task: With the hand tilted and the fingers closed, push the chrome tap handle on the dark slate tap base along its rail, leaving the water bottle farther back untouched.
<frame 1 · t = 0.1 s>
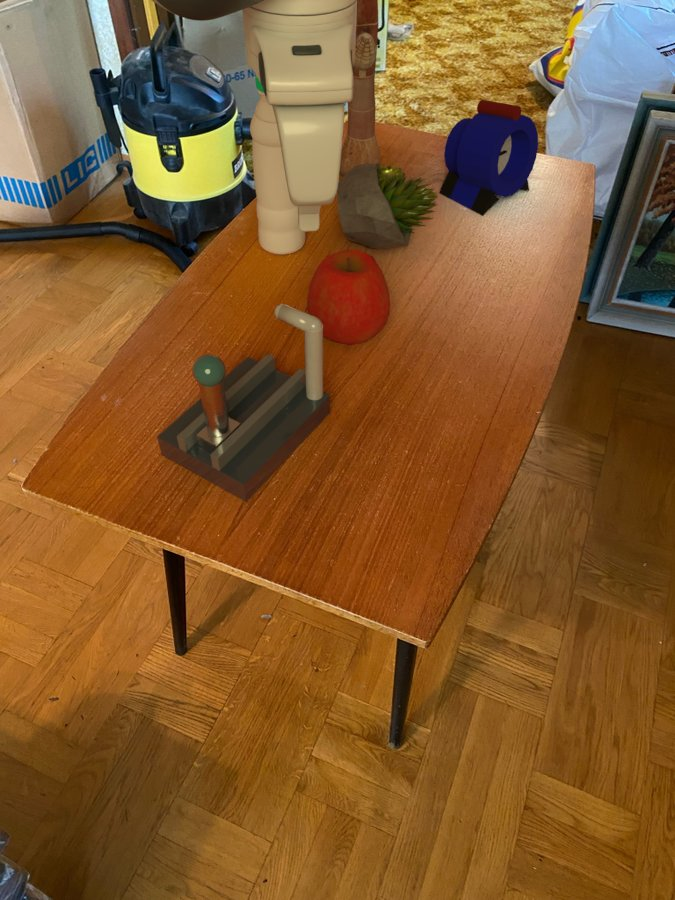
hand: (304, 200, 67), 26 cm above the table, tool pointing down, fingers open, 8 cm apart
tap base: (248, 433, 82), on the table
alarm clock: (481, 191, 120), on the table
water bottle: (282, 244, 108), on the table
apple: (348, 327, 95), on the table
tap handle: (214, 400, 73), point 9 cm above the table, slide at 0.0 cm
brown carved wooden post: (358, 175, 123), on the table
potted plant: (383, 239, 110), on the table
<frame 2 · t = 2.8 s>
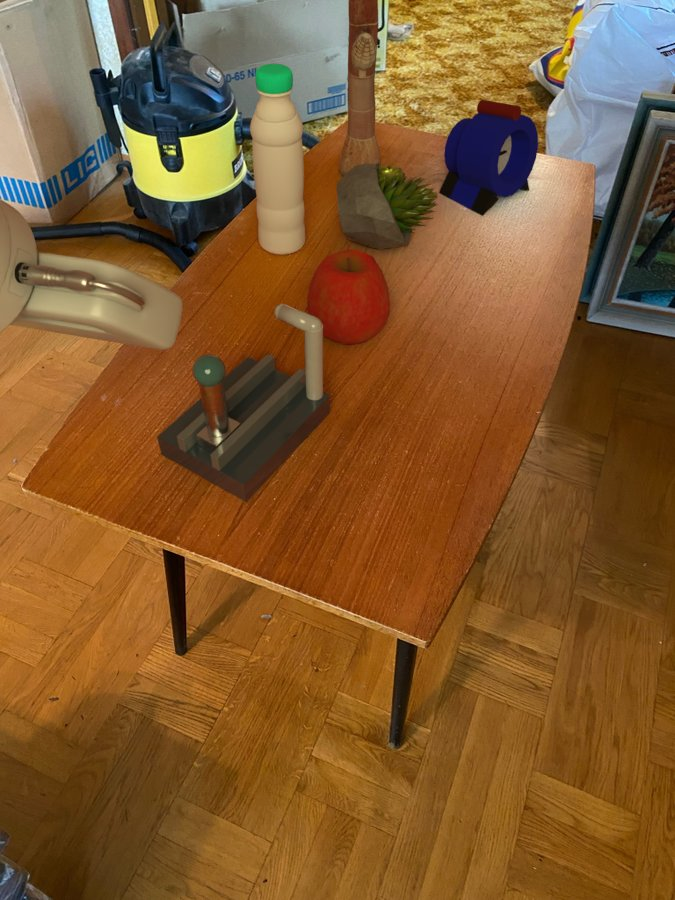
hand: (97, 325, 54), 26 cm above the table, tool tilted 40°, fingers open, 8 cm apart
nothing on the table moved.
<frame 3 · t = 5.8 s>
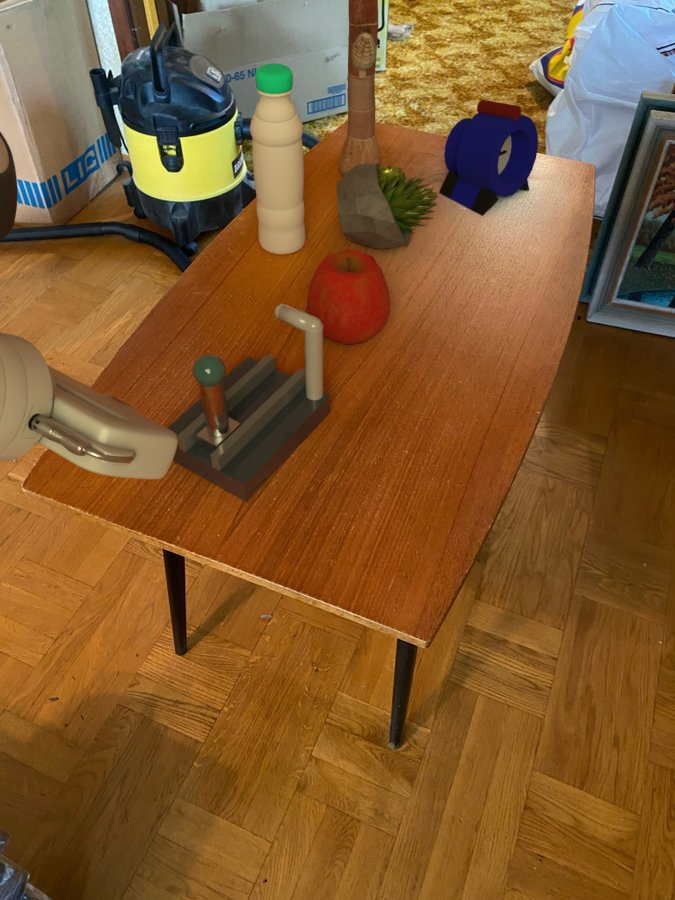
hand: (122, 411, 61), 17 cm above the table, tool tilted 45°, fingers closed
nothing on the table moved.
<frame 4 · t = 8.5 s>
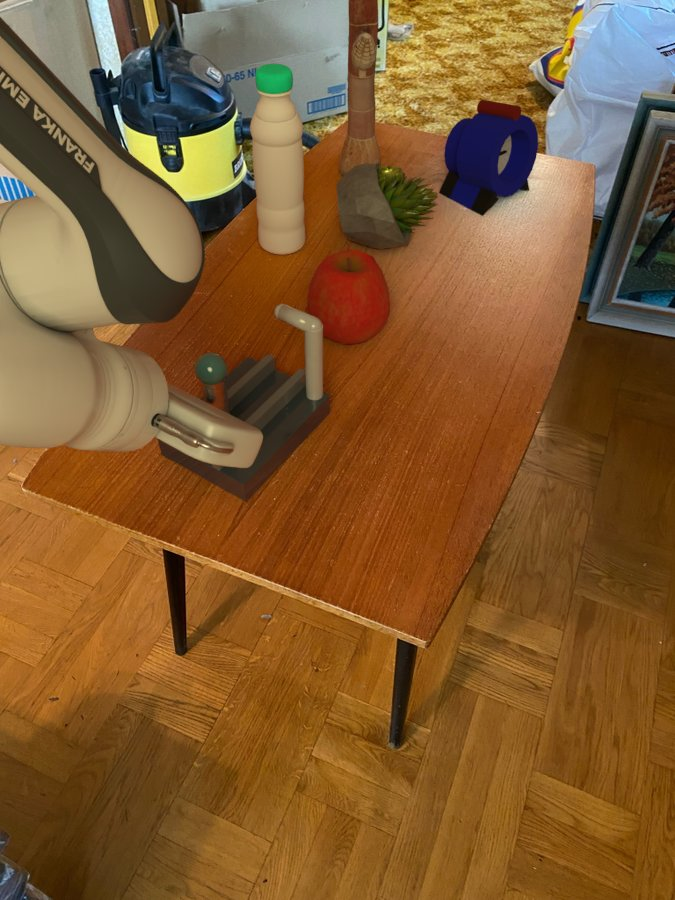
hand: (205, 411, 72), 9 cm above the table, tool tilted 45°, fingers closed
tap handle: (215, 399, 73), point 9 cm above the table, slide at 0.3 cm, touching gripper
everything else where it was.
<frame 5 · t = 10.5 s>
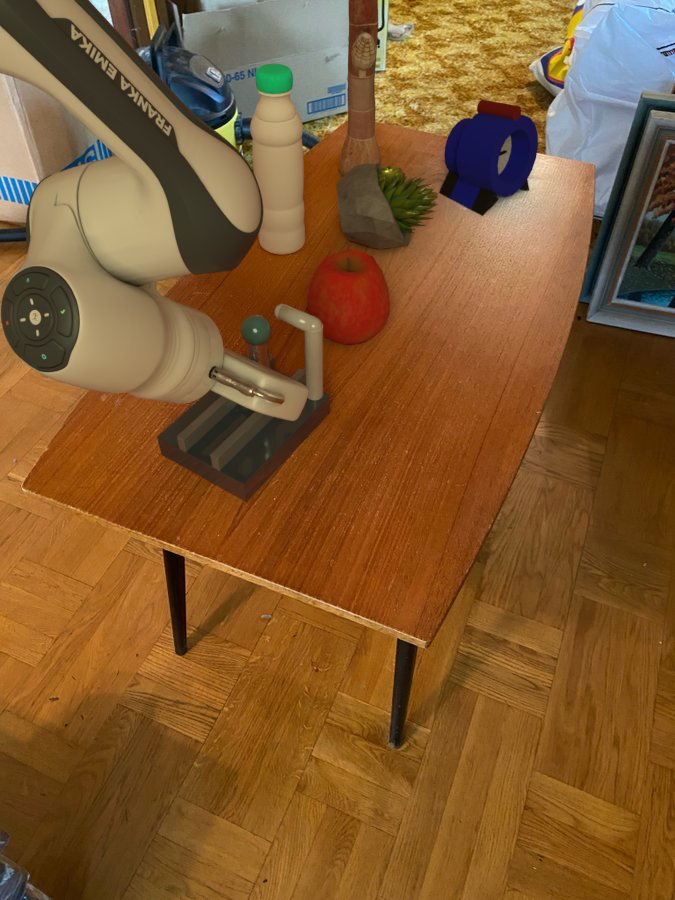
hand: (248, 373, 76), 8 cm above the table, tool tilted 45°, fingers closed, pressing on tap handle
tap handle: (258, 360, 77), point 9 cm above the table, slide at 7.5 cm, touching gripper
everything else where it was.
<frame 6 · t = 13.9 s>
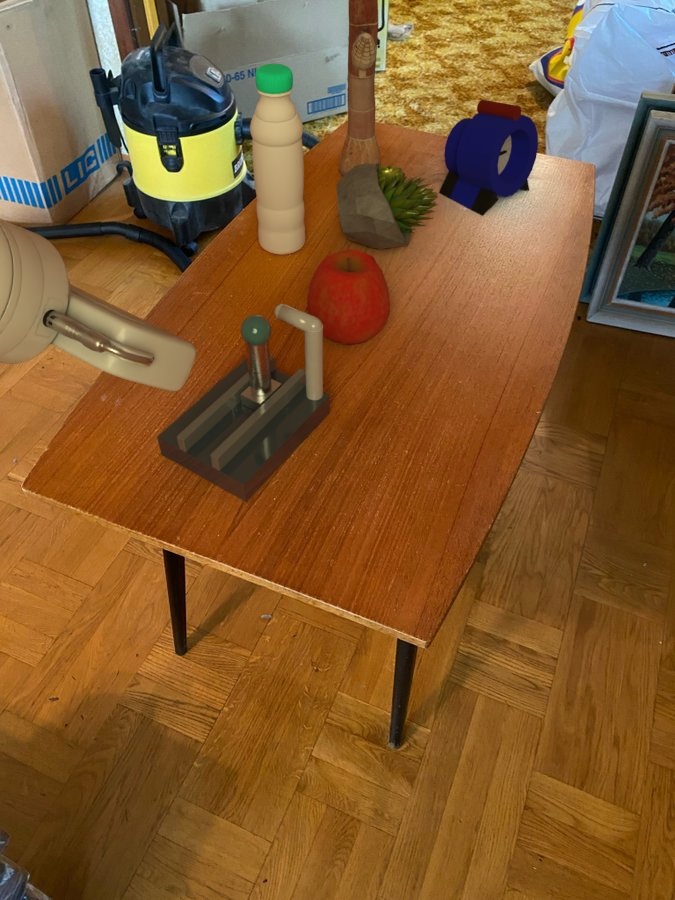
hand: (133, 333, 58), 23 cm above the table, tool tilted 45°, fingers closed
tap handle: (258, 360, 77), point 9 cm above the table, slide at 7.5 cm
everything else where it was.
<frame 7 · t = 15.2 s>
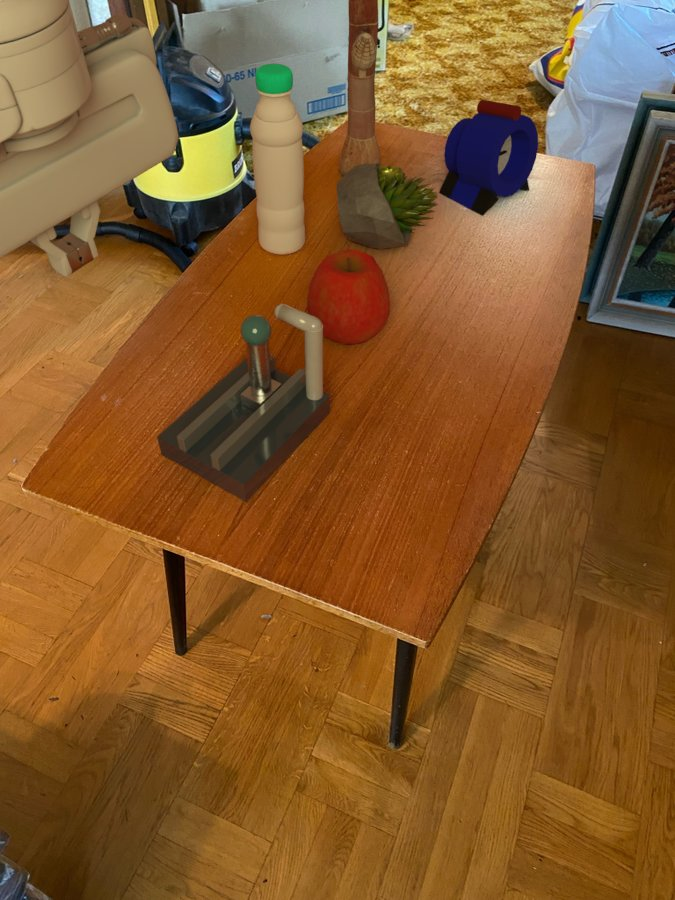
hand: (76, 264, 51), 30 cm above the table, tool pointing down, fingers closed
nothing on the table moved.
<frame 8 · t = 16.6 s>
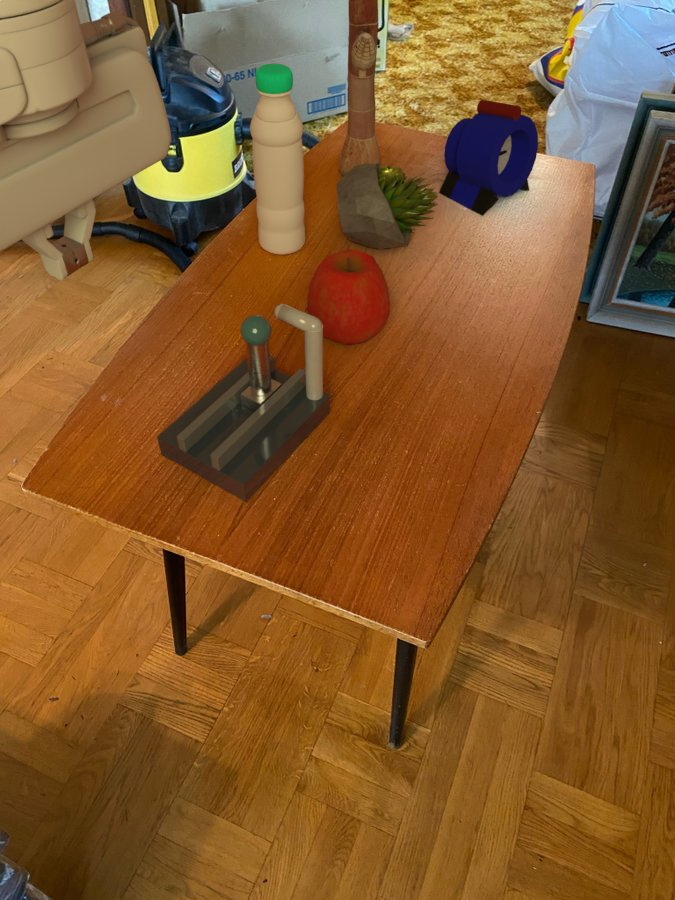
hand: (71, 268, 50), 31 cm above the table, tool pointing down, fingers closed
nothing on the table moved.
at the end: tap handle slide at 7.5 cm; water bottle moved 0.2 cm from its start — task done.
